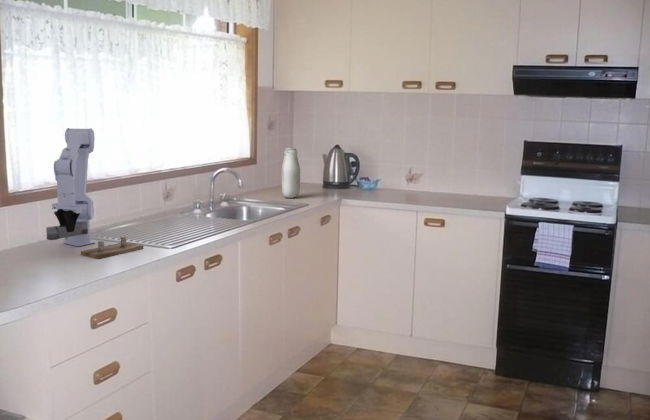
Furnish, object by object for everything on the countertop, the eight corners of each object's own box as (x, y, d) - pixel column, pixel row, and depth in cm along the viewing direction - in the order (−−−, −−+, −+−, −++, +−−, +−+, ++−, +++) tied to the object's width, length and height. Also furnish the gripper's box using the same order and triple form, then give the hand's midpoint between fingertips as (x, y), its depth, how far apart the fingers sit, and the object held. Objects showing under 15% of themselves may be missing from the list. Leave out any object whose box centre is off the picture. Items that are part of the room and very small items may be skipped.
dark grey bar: (44, 238, 241) (43, 227, 240) (83, 231, 254) (83, 221, 253) (51, 240, 238) (50, 229, 238) (90, 233, 251) (90, 222, 251)
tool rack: (80, 254, 247) (80, 242, 246) (125, 244, 263) (125, 233, 262) (98, 258, 241) (98, 246, 240) (143, 248, 257) (143, 236, 257)
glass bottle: (292, 195, 391) (292, 146, 386) (303, 198, 383) (303, 147, 378) (277, 197, 384) (278, 147, 380) (289, 199, 377) (289, 148, 372)
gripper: (43, 192, 244) (45, 230, 247) (69, 196, 236) (70, 235, 239) (61, 190, 250) (62, 227, 252) (86, 194, 242) (88, 232, 244)
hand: (67, 231), depth 246 cm, fingers closed on dark grey bar, 3 cm apart
